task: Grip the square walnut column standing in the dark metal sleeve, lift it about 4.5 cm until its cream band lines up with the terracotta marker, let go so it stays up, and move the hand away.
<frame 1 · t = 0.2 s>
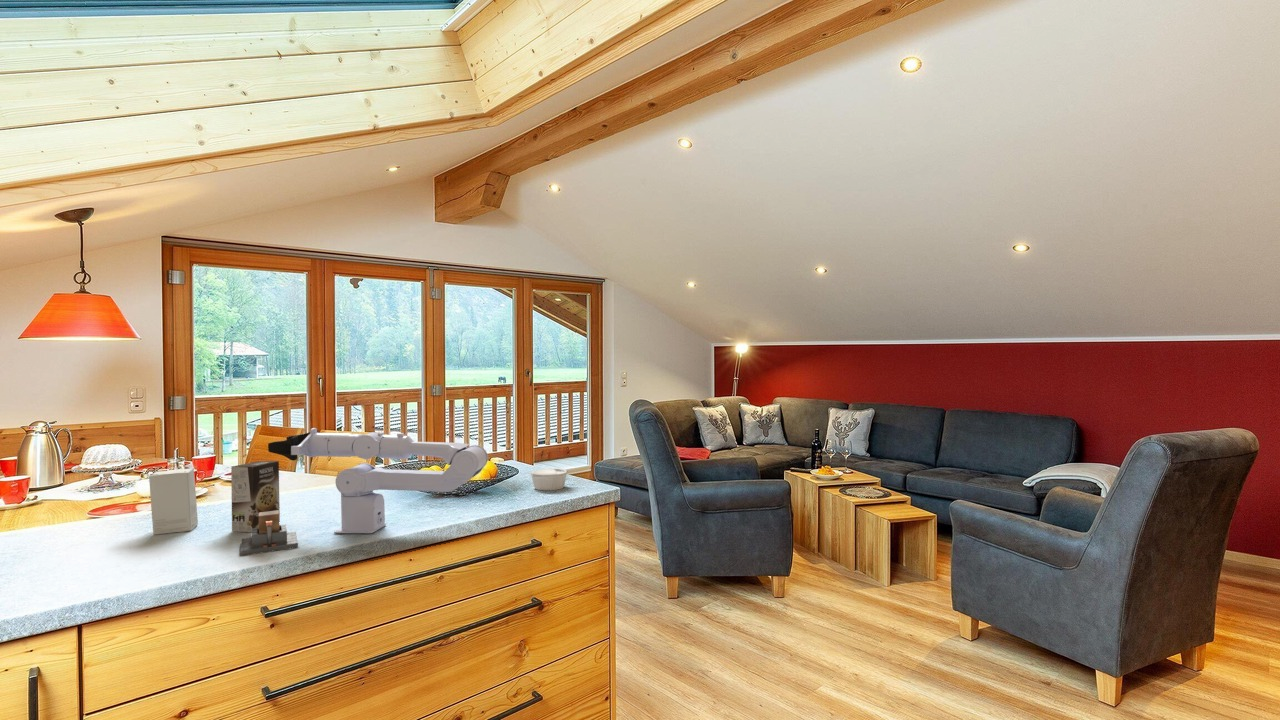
hand: (278, 444, 160), 21 cm above the worktop, tool horizontal, fingers open, 7 cm apart
ramekin: (549, 488, 206), on the worktop
skincare box: (174, 531, 161), on the worktop
coffee box: (256, 528, 163), on the worktop
sleeve stand: (269, 545, 147), on the worktop
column: (269, 526, 147), point 4 cm above the worktop, slide at 0.0 cm
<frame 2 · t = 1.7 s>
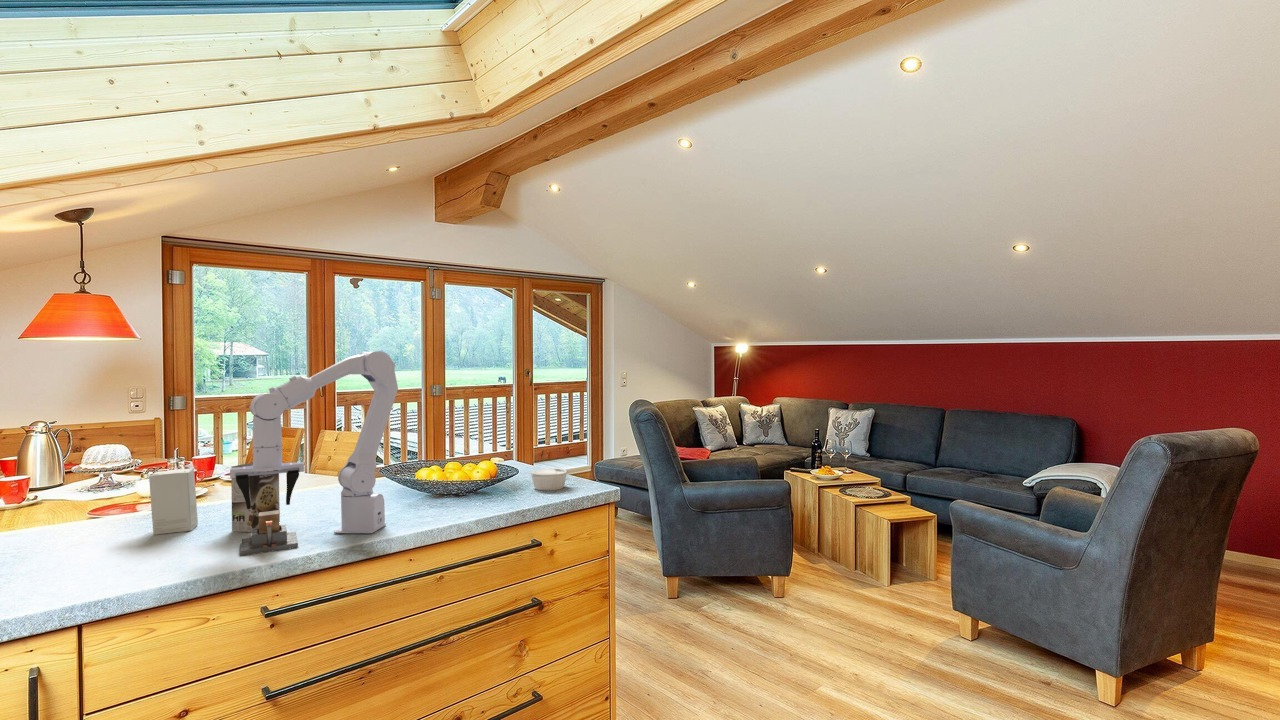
hand: (268, 506, 147), 9 cm above the worktop, tool pointing down, fingers open, 7 cm apart
nothing on the worktop moved.
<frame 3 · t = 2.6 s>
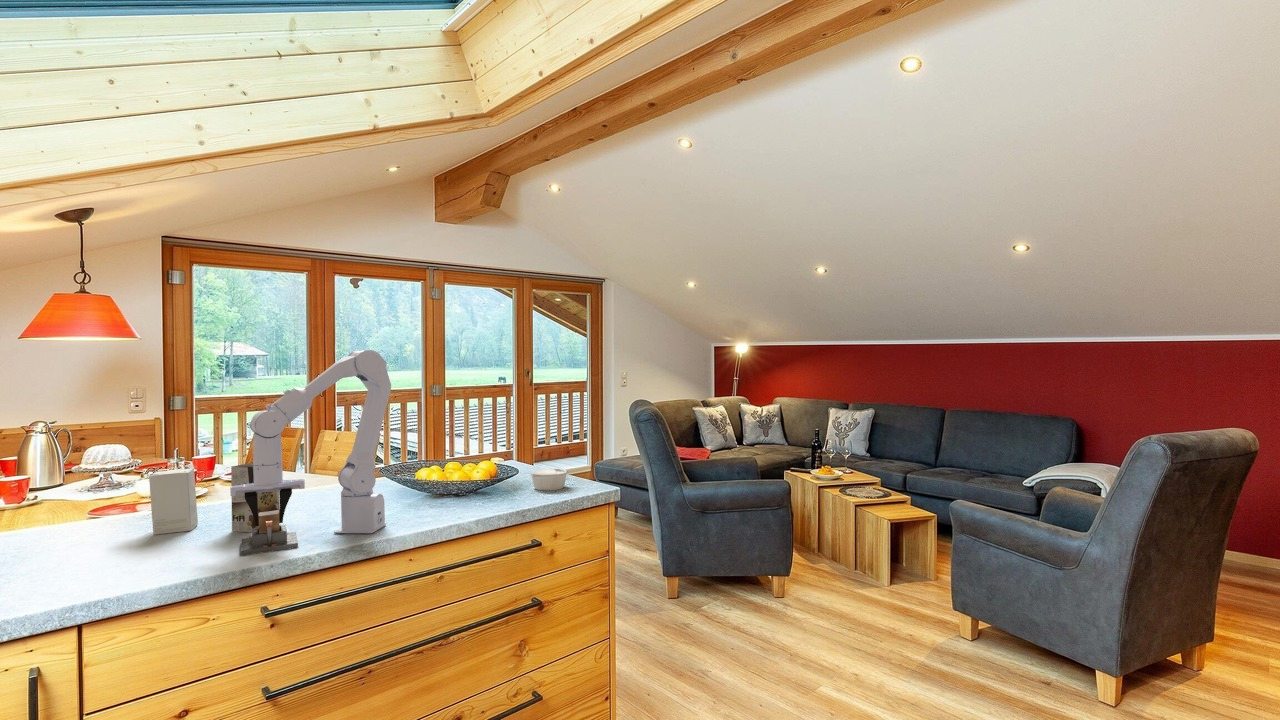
hand: (269, 523, 147), 5 cm above the worktop, tool pointing down, fingers closed on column, 4 cm apart
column: (269, 526, 147), point 4 cm above the worktop, slide at 0.0 cm, touching gripper
everything else where it was.
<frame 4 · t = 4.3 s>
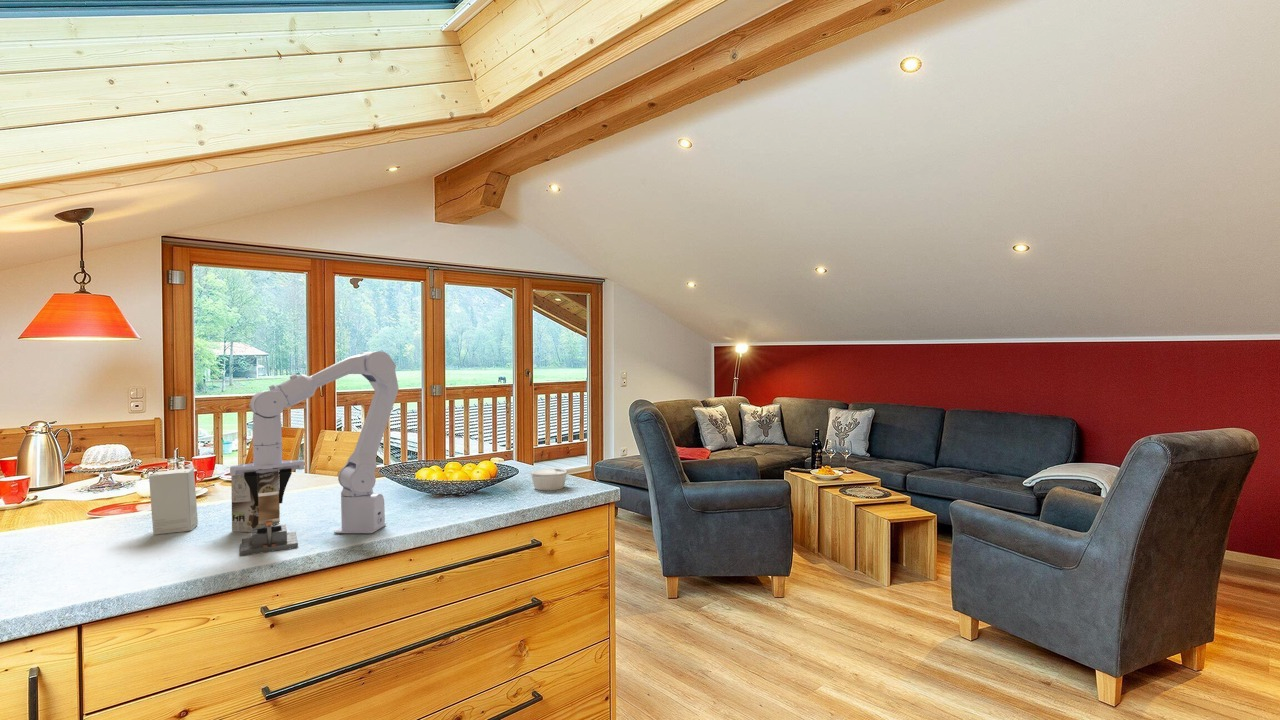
hand: (268, 503, 147), 9 cm above the worktop, tool pointing down, fingers closed on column, 4 cm apart
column: (268, 507, 147), point 9 cm above the worktop, slide at 4.4 cm, touching gripper
everything else where it was.
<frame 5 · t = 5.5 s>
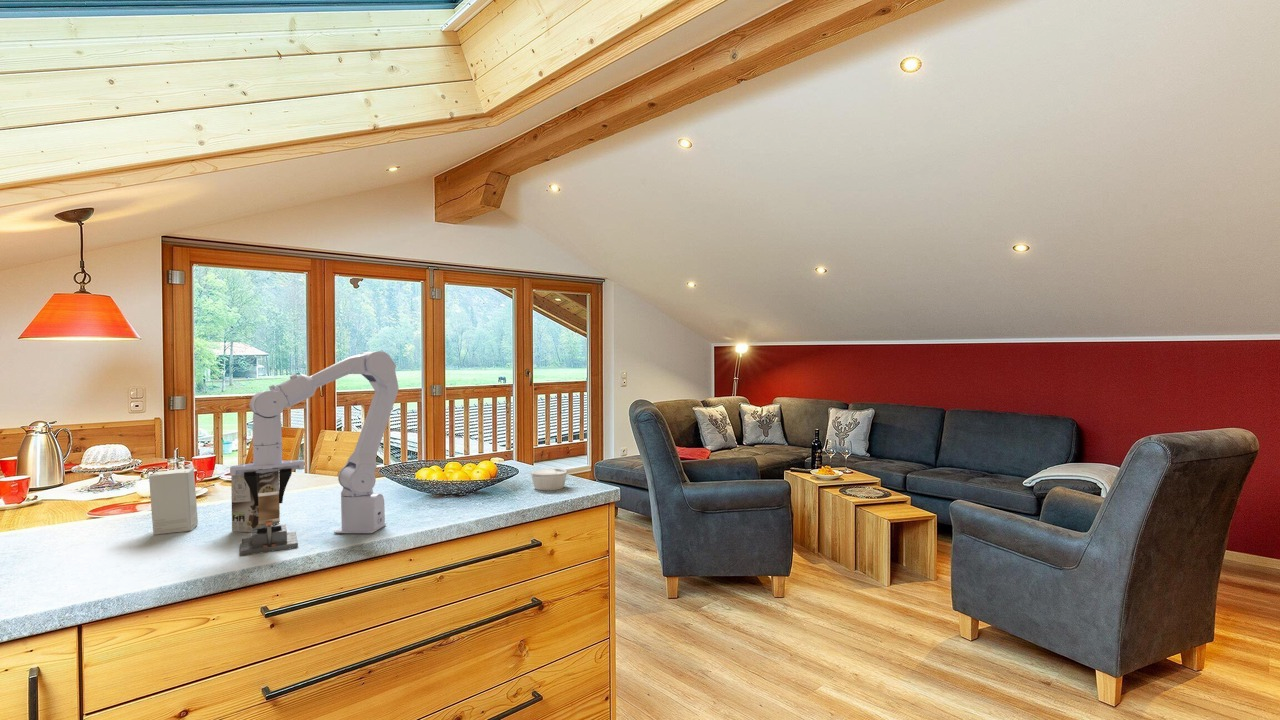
hand: (268, 503, 147), 9 cm above the worktop, tool pointing down, fingers open, 4 cm apart
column: (268, 507, 147), point 9 cm above the worktop, slide at 4.4 cm
everything else where it was.
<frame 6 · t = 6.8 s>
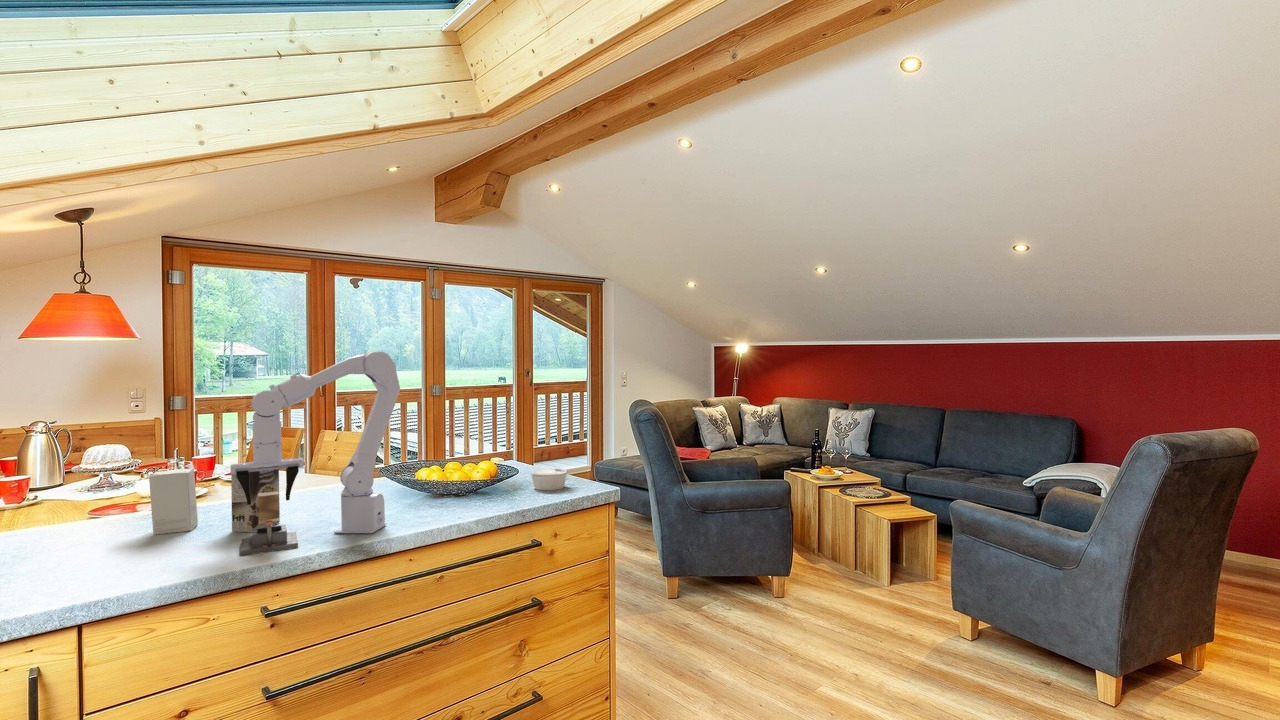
hand: (268, 501, 149), 9 cm above the worktop, tool pointing down, fingers open, 7 cm apart
nothing on the worktop moved.
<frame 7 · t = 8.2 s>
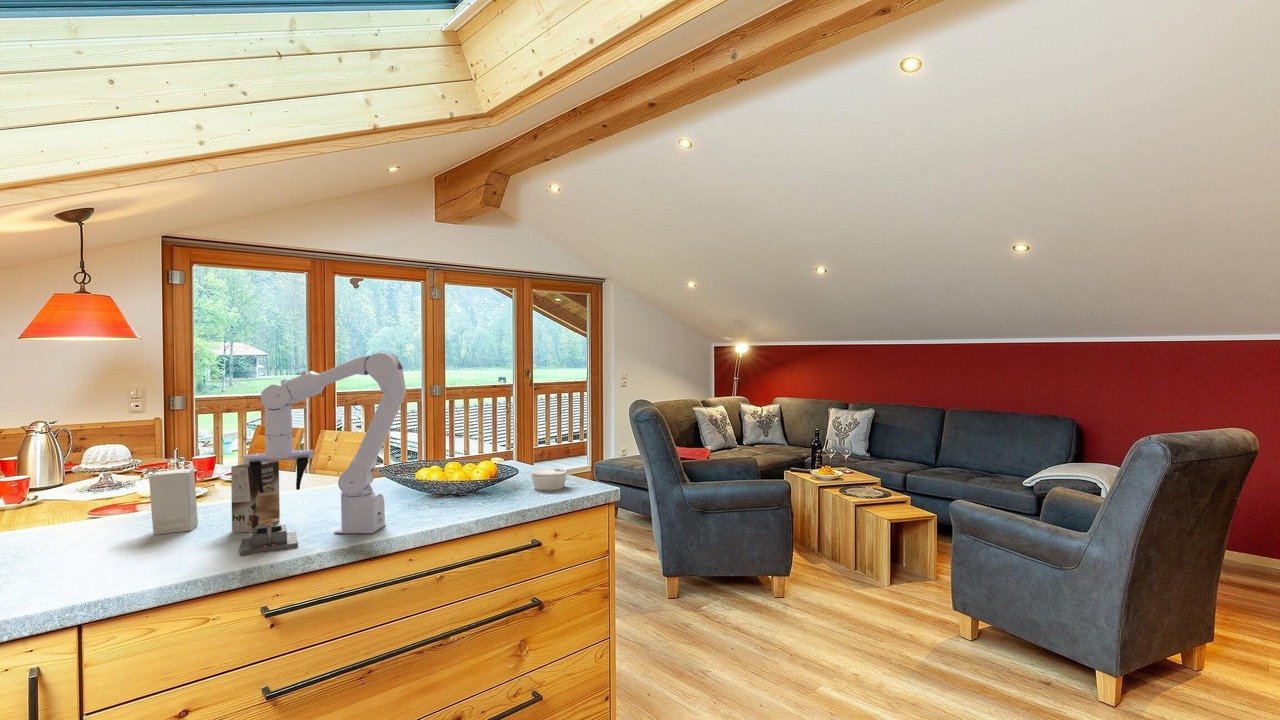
hand: (279, 490, 156), 10 cm above the worktop, tool pointing down, fingers open, 7 cm apart
nothing on the worktop moved.
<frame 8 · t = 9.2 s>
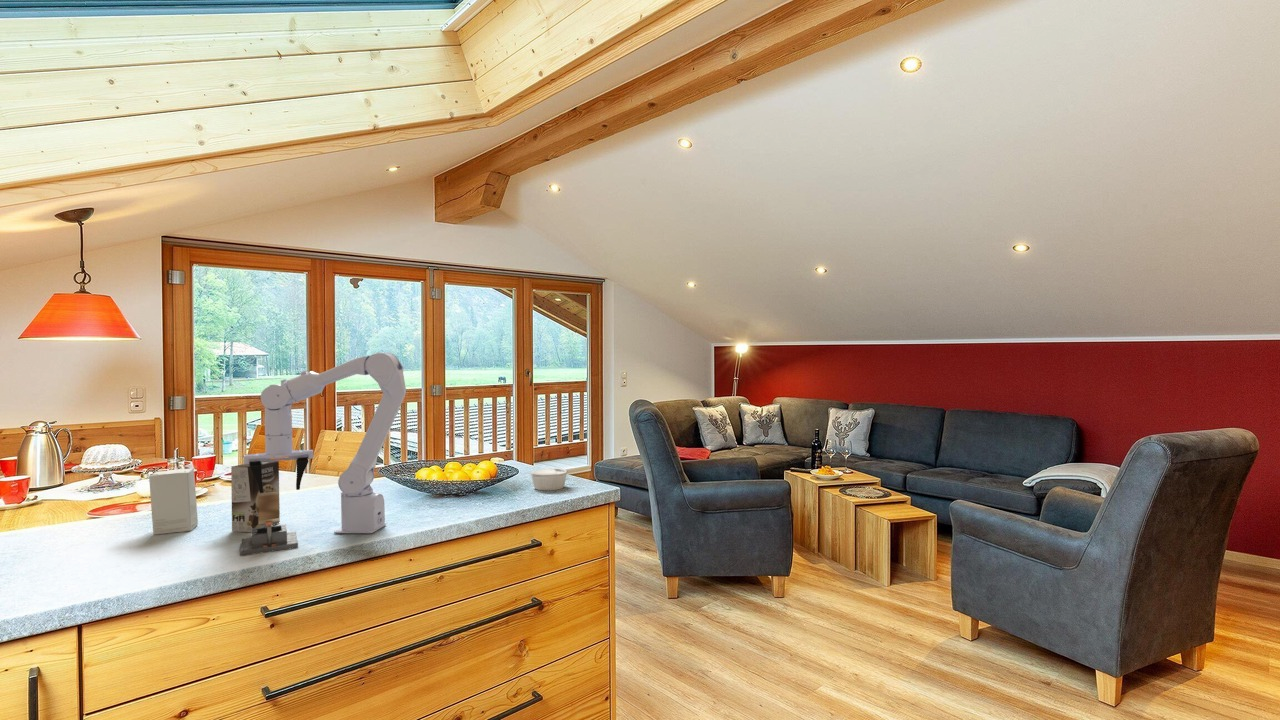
hand: (279, 490, 156), 10 cm above the worktop, tool pointing down, fingers open, 7 cm apart
nothing on the worktop moved.
at the end: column slide at 4.4 cm; the gripper is holding nothing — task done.
